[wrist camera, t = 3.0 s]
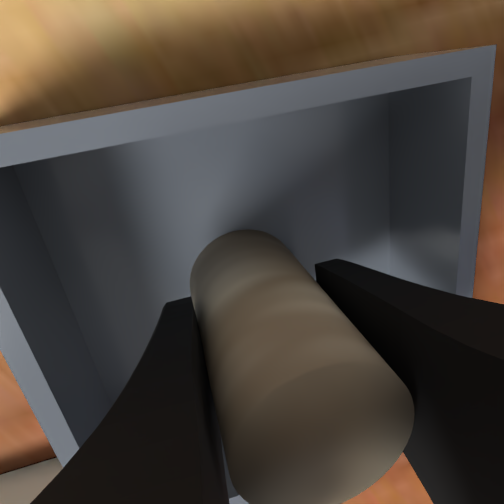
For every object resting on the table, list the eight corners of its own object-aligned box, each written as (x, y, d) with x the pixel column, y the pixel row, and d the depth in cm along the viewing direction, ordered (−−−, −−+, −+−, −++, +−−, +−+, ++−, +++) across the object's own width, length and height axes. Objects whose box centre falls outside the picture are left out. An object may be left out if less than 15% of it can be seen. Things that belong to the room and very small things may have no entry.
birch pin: (288, 218, 11) (416, 337, 6) (299, 310, 13) (412, 477, 7) (178, 244, 11) (209, 400, 5) (202, 338, 12) (246, 537, 7)
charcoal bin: (394, 56, 11) (496, 44, 8) (395, 359, 15) (459, 430, 12) (-19, 129, 9) (-105, 152, 6) (117, 445, 14) (108, 553, 10)
